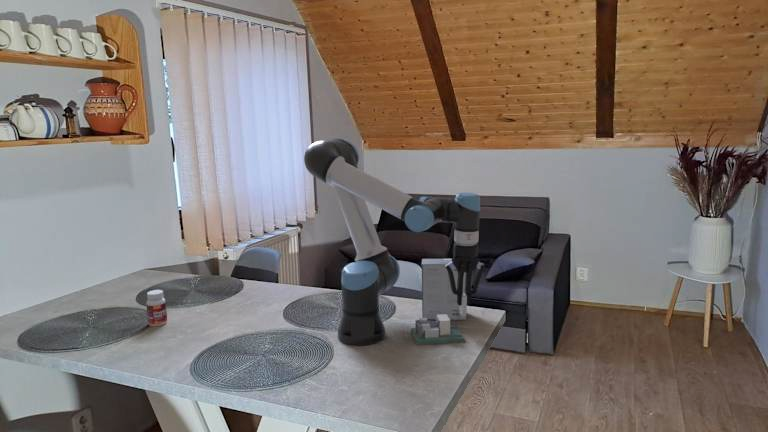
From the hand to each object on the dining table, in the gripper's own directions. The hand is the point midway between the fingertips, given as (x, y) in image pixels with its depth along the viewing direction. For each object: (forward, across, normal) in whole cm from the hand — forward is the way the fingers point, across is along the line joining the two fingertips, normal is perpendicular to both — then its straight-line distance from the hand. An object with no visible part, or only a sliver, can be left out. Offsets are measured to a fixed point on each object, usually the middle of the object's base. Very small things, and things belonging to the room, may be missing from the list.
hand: (462, 314), depth 174 cm
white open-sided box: (+6, -6, 0) cm, 8 cm away
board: (+7, -8, 0) cm, 11 cm away
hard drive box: (+7, -2, +16) cm, 18 cm away
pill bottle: (+10, -101, +24) cm, 105 cm away
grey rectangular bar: (+3, -10, 0) cm, 11 cm away
